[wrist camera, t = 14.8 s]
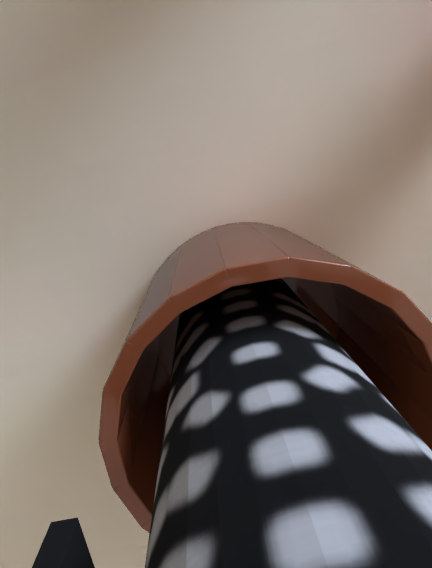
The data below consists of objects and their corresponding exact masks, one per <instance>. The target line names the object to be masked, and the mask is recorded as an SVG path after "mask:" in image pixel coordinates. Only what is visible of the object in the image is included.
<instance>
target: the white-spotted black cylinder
mask: <svg viewBox="0 0 432 568" xmlns="http://www.w3.org/2000/svg"><path fill="white" fill-rule="evenodd" d="M145 568H432V450H431V449H430V448H429V447H428V446H427V445H426V444H425V442H424V441H423V440H422V439H421V438H420V437H419V435H418V434H417V433H416V432H415V431H414V430H413V429H412V427H411V426H410V425H409V424H408V423H407V422H406V421H405V419H404V418H403V417H402V416H401V415H400V414H399V412H398V411H397V410H396V409H395V408H394V407H393V406H392V404H391V403H390V402H389V401H388V400H387V399H386V397H385V396H384V395H383V394H382V393H381V392H380V391H379V389H378V388H377V387H376V386H375V385H374V384H373V383H372V381H371V380H370V379H369V378H368V377H367V376H366V374H365V373H364V372H363V371H362V370H361V369H360V368H359V366H358V365H357V364H356V363H355V362H354V361H353V359H352V358H351V357H350V356H349V355H348V354H347V353H346V351H345V350H344V349H343V348H342V347H341V346H340V344H339V343H338V342H337V341H336V340H335V339H334V338H333V336H332V335H331V334H330V333H329V332H328V331H327V330H326V328H325V327H324V326H323V325H322V324H321V323H320V321H319V320H318V319H317V318H316V317H315V316H314V315H313V313H312V312H311V311H310V310H309V309H308V308H307V306H306V305H305V304H304V303H303V302H302V301H301V300H300V298H299V297H298V296H297V295H296V294H295V293H294V292H293V290H292V289H291V288H290V287H289V286H288V285H287V284H286V282H284V281H283V280H282V279H274V280H268V281H263V282H257V283H251V284H245V285H240V286H234V287H230V288H228V289H227V290H225V291H223V292H221V293H219V294H217V295H215V296H213V297H211V298H209V299H207V300H205V301H203V302H201V303H199V304H197V305H195V306H193V307H191V308H189V309H187V310H185V311H184V312H182V313H180V316H179V322H178V329H177V336H176V344H175V351H174V358H173V366H172V373H171V380H170V388H169V395H168V402H167V410H166V417H165V424H164V432H163V439H162V446H161V454H160V461H159V468H158V476H157V483H156V490H155V498H154V505H153V513H152V520H151V527H150V535H149V542H148V549H147V557H146V564H145Z"/></svg>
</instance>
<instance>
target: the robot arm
mask: <svg viewBox="0 0 432 568" xmlns="http://www.w3.org/2000/svg"><path fill="white" fill-rule="evenodd" d="M32 568H95V567H94V564H93V562H92V559H91V556H90V553H89V550H88V547H87V544H86V541H85V538H84V535H83V532H82V529H81V526H80V523H79V520H78V518H73V519H67V520H61V521H56V522H51V524H50V526H49V529H48V531H47V533H46V536H45V538H44V540H43V543H42V545H41V547H40V550H39V552H38V554H37V557H36V559H35V562H34V564H33V566H32Z"/></svg>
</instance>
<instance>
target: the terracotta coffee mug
mask: <svg viewBox="0 0 432 568" xmlns="http://www.w3.org/2000/svg"><path fill="white" fill-rule="evenodd" d="M274 279H282V280H283V281H284V282H286V284H287V285H288V286H289V287H290V288H291V289H292V290H293V292H294V293H295V294H296V295H297V296H298V297H299V298H300V300H301V301H302V302H303V303H304V304H305V305H306V306H307V308H308V309H309V310H310V311H311V312H312V313H313V315H314V316H315V317H316V318H317V319H318V320H319V321H320V323H321V324H322V325H323V326H324V327H325V328H326V330H327V331H328V332H329V333H330V334H331V335H332V336H333V338H334V339H335V340H336V341H337V342H338V343H339V344H340V346H341V347H342V348H343V349H344V350H345V351H346V353H347V354H348V355H349V356H350V357H351V358H352V359H353V361H354V362H355V363H356V364H357V365H358V366H359V368H360V369H361V370H362V371H363V372H364V373H365V374H366V376H367V377H368V378H369V379H370V380H371V381H372V383H373V384H374V385H375V386H376V387H377V388H378V389H379V391H380V392H381V393H382V394H383V395H384V396H385V397H386V399H387V400H388V401H389V402H390V403H391V404H392V406H393V407H394V408H395V409H396V410H397V411H398V412H399V414H400V415H401V416H402V417H403V418H404V419H405V421H406V422H407V423H408V424H409V425H410V426H411V427H412V429H413V430H414V431H415V432H416V433H417V434H418V435H419V437H420V438H421V439H422V440H423V441H424V442H425V444H426V445H427V446H428V447H429V448H430V449H431V450H432V323H431V322H430V321H429V320H428V319H427V318H426V316H425V315H424V314H423V313H422V312H421V311H420V310H419V309H418V308H417V307H416V306H415V304H414V303H413V302H412V301H411V300H410V299H409V298H408V297H407V296H406V295H405V293H403V292H402V291H400V290H399V289H397V288H395V287H393V286H391V285H389V284H387V283H386V282H384V281H382V280H380V279H378V278H376V277H374V276H373V275H371V274H369V273H367V272H365V271H363V270H361V269H360V268H358V267H356V266H354V265H352V264H350V263H348V262H347V261H345V260H343V259H341V258H339V257H337V256H336V255H334V254H332V253H330V252H328V251H326V250H324V249H323V248H321V247H319V246H317V245H315V244H313V243H311V242H309V241H308V240H306V239H304V238H302V237H300V236H298V235H296V234H294V233H292V232H290V231H288V230H286V229H284V228H281V227H276V226H273V225H269V224H262V223H253V222H240V223H231V224H226V225H222V226H217V227H214V228H211V229H209V230H206V231H204V232H201V233H200V234H198V235H196V236H194V237H192V238H190V239H189V240H188V241H186V242H185V243H183V244H182V245H181V246H179V247H178V248H177V249H176V250H175V251H174V252H173V253H172V254H171V255H170V256H169V257H168V258H167V259H166V261H165V262H164V263H163V264H162V266H161V267H160V268H159V269H158V270H157V273H156V275H155V277H154V279H153V281H152V283H151V285H150V287H149V289H148V292H147V294H146V296H145V298H144V300H143V302H142V305H141V307H140V309H139V311H138V313H137V316H136V318H135V320H134V322H133V324H132V327H131V329H130V331H129V333H128V335H127V338H126V340H125V342H124V344H123V346H122V349H121V351H120V353H119V355H118V357H117V360H116V362H115V364H114V366H113V368H112V371H111V373H110V375H109V377H108V379H107V382H106V384H105V386H104V388H103V392H102V404H101V416H100V429H99V445H100V449H101V452H102V455H103V459H104V462H105V465H106V469H107V472H108V476H109V479H110V482H111V486H112V488H113V490H114V491H115V492H116V494H117V495H118V496H119V498H120V499H121V500H122V502H123V503H124V504H125V506H126V507H127V509H128V510H129V511H130V513H131V514H132V515H133V517H134V518H135V519H136V521H137V522H138V523H139V525H141V527H142V528H143V529H145V530H146V531H148V532H149V533H150V527H151V520H152V513H153V505H154V498H155V490H156V483H157V476H158V468H159V461H160V454H161V446H162V439H163V432H164V424H165V417H166V410H167V402H168V395H169V388H170V380H171V373H172V366H173V358H174V351H175V344H176V336H177V329H178V322H179V316H180V313H182V312H184V311H185V310H187V309H189V308H191V307H193V306H195V305H197V304H199V303H201V302H203V301H205V300H207V299H209V298H211V297H213V296H215V295H217V294H219V293H221V292H223V291H225V290H227V289H228V288H230V287H234V286H240V285H245V284H251V283H257V282H263V281H268V280H274Z"/></svg>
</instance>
